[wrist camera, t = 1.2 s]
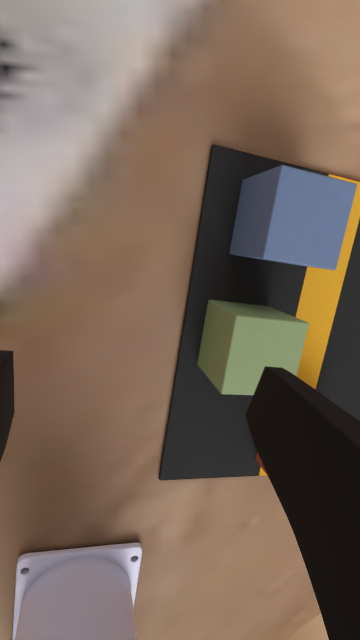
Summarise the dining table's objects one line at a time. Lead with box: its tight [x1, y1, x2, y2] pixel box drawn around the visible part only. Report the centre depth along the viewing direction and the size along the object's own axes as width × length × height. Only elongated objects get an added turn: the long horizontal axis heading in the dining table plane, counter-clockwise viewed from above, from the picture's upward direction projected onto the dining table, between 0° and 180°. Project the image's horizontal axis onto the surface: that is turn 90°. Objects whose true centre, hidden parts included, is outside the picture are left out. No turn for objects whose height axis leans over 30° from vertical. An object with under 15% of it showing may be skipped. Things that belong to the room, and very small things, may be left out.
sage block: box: [197, 300, 309, 395], centre depth 19 cm, size 4×4×4 cm
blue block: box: [229, 165, 357, 270], centre depth 18 cm, size 4×4×4 cm
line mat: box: [159, 144, 360, 480], centre depth 22 cm, size 21×18×1 cm
